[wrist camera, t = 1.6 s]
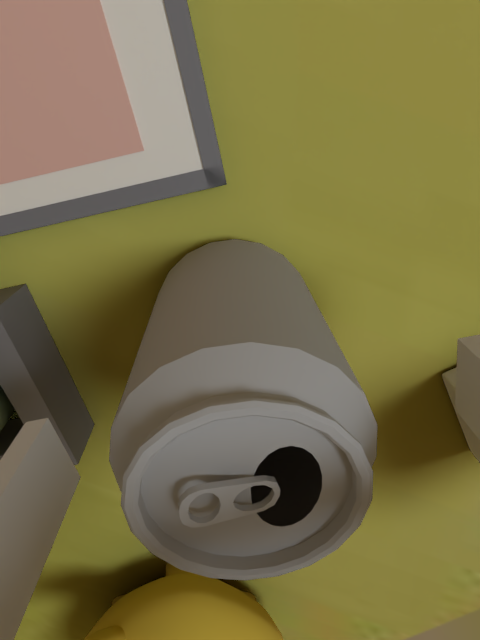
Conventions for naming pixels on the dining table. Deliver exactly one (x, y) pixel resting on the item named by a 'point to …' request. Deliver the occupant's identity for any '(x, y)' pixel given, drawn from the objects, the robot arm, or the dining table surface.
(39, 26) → the picture sheet
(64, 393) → the button housing
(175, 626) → the teapot
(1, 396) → the button
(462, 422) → the milk carton
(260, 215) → the dining table surface
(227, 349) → the can
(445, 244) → the dining table surface
